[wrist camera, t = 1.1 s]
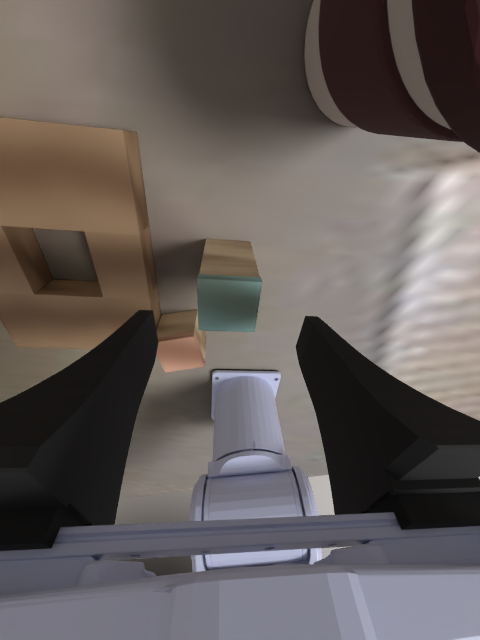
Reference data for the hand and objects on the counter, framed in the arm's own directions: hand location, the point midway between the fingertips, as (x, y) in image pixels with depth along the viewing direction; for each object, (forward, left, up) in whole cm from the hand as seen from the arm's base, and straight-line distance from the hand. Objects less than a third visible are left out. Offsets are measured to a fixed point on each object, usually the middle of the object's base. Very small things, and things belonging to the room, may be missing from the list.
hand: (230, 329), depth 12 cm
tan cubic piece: (-8, +4, -10) cm, 13 cm away
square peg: (-1, 0, -10) cm, 10 cm away
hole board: (-1, +12, -10) cm, 16 cm away
